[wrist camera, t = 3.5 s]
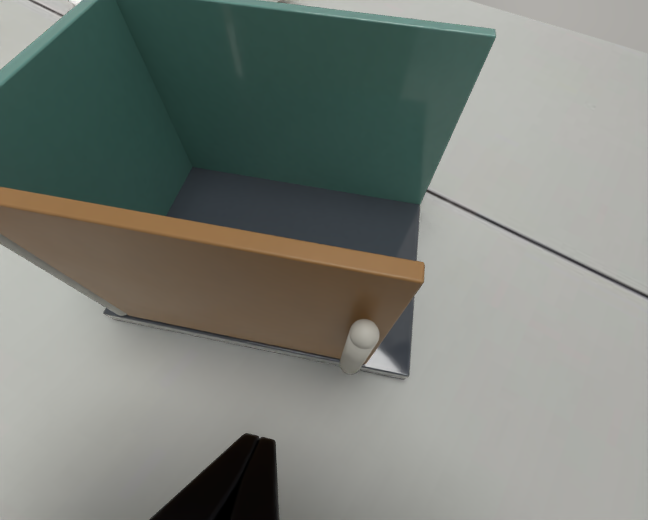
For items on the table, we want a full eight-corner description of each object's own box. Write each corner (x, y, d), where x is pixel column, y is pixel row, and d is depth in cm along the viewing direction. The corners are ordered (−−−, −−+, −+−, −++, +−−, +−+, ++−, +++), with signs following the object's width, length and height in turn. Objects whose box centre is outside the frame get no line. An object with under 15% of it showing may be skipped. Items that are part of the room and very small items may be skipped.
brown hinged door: (363, 388, 16) (422, 330, 7) (104, 333, 17) (-129, 222, 8) (368, 351, 17) (426, 257, 8) (121, 301, 18) (-71, 169, 9)
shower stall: (404, 380, 17) (530, 302, 7) (112, 319, 18) (-133, 180, 8) (416, 206, 23) (496, 28, 13) (192, 169, 24) (104, -20, 14)
